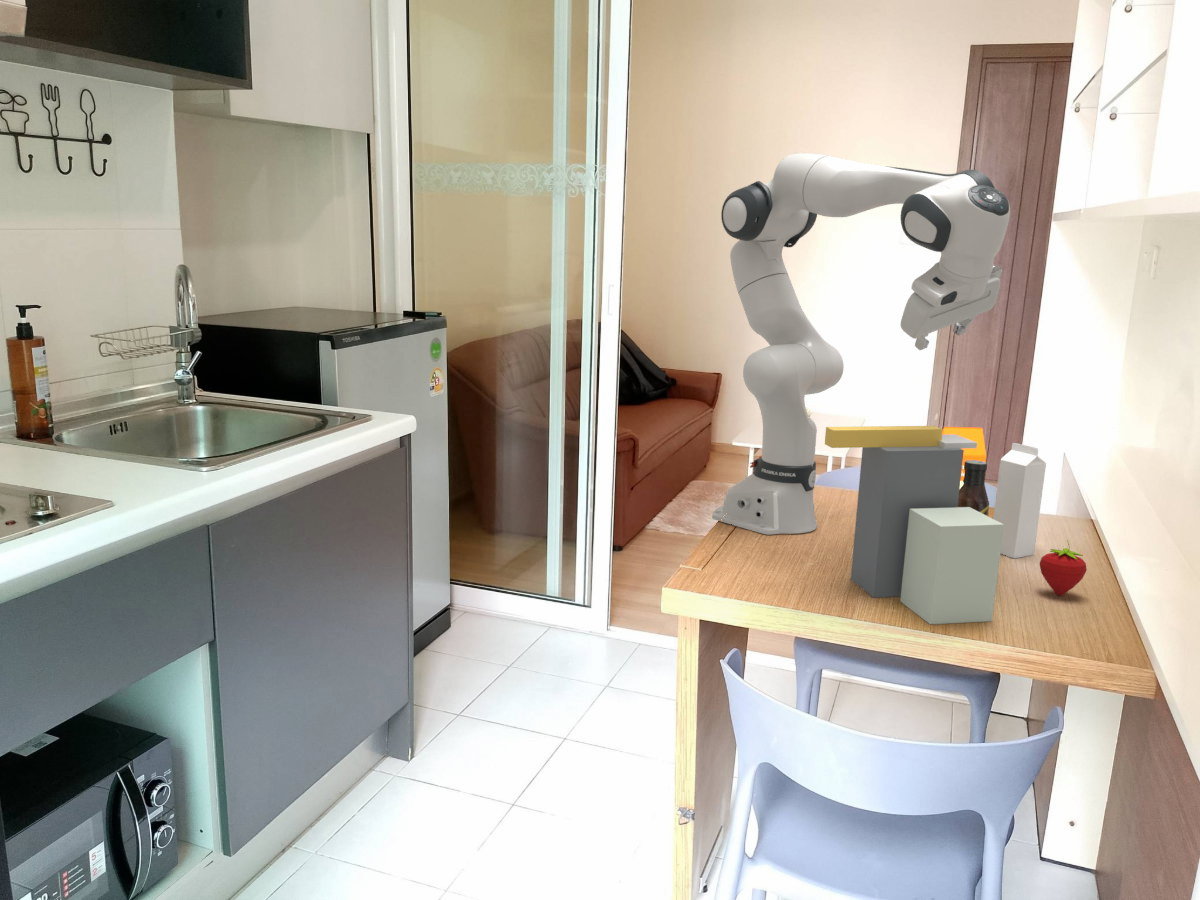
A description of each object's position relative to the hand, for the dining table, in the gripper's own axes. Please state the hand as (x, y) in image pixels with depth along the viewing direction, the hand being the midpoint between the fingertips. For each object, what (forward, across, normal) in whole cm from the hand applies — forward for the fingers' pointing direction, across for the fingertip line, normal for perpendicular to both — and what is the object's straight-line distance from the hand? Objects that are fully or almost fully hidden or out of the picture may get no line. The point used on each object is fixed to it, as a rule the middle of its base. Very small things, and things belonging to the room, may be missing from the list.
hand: (939, 340), depth 177 cm
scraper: (+5, +21, +14) cm, 26 cm away
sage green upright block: (+22, +26, +38) cm, 51 cm away
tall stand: (+27, +26, +27) cm, 46 cm away
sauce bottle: (+36, +4, +25) cm, 44 cm away
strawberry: (+26, +2, +43) cm, 50 cm away
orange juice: (+54, -19, +5) cm, 57 cm away
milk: (+39, -9, +26) cm, 48 cm away
